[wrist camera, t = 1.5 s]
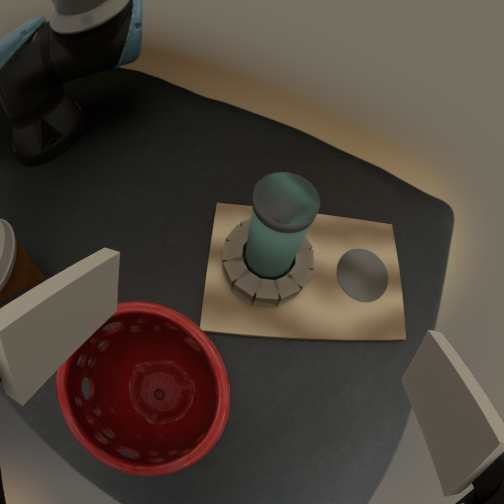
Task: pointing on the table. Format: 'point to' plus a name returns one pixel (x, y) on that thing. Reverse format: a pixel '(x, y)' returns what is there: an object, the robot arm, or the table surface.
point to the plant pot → (146, 391)
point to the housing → (306, 283)
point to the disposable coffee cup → (15, 265)
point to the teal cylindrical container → (279, 223)
